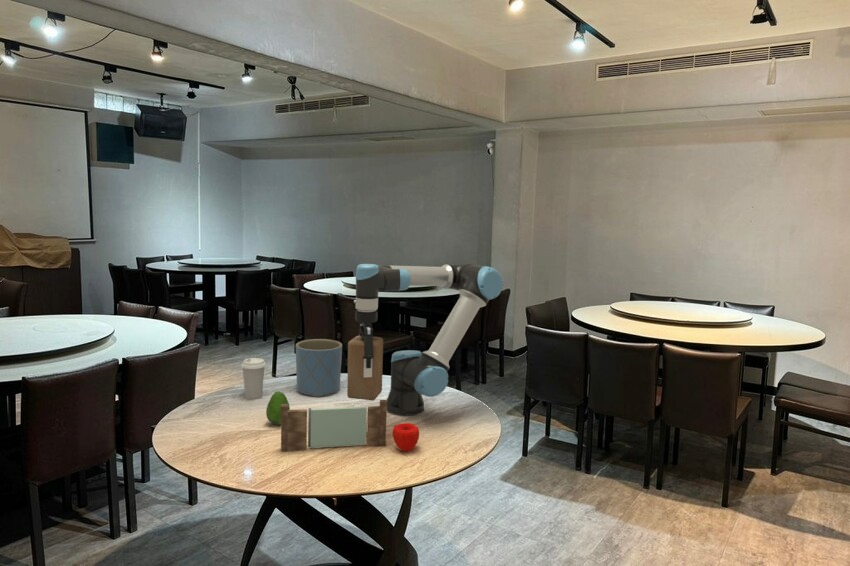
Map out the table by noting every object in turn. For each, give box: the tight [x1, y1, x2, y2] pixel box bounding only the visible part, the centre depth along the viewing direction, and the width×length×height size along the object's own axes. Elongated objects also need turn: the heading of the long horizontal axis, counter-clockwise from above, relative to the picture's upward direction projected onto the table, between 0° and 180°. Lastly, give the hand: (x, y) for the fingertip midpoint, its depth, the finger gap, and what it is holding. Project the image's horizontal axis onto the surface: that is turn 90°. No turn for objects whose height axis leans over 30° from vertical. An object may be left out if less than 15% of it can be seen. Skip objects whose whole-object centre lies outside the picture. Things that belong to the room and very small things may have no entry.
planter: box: [295, 338, 343, 398], centre depth 241 cm, size 19×19×20 cm
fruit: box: [265, 391, 291, 426], centre depth 205 cm, size 8×8×12 cm
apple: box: [392, 422, 420, 452], centre depth 188 cm, size 9×9×8 cm
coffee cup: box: [240, 357, 267, 400], centre depth 231 cm, size 10×10×15 cm
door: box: [307, 406, 368, 449], centre depth 187 cm, size 19×1×13 cm, turn 103°
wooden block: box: [346, 335, 384, 401], centre depth 197 cm, size 10×10×20 cm
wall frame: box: [280, 399, 388, 453], centre depth 187 cm, size 34×2×15 cm, turn 103°
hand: (365, 371), depth 198 cm, fingers closed on wooden block, 12 cm apart
